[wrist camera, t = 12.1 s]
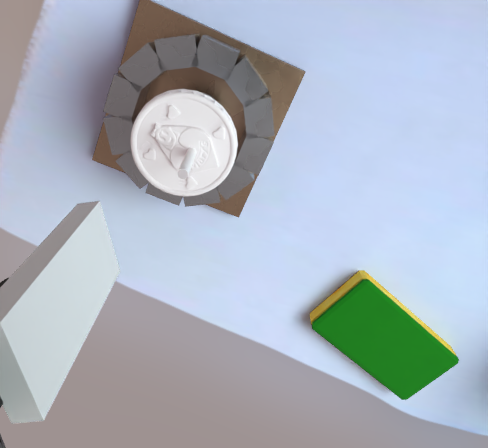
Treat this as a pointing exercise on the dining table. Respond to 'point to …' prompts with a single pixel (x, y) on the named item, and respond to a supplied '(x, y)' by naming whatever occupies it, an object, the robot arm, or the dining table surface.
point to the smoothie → (184, 142)
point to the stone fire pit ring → (203, 80)
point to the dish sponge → (382, 336)
